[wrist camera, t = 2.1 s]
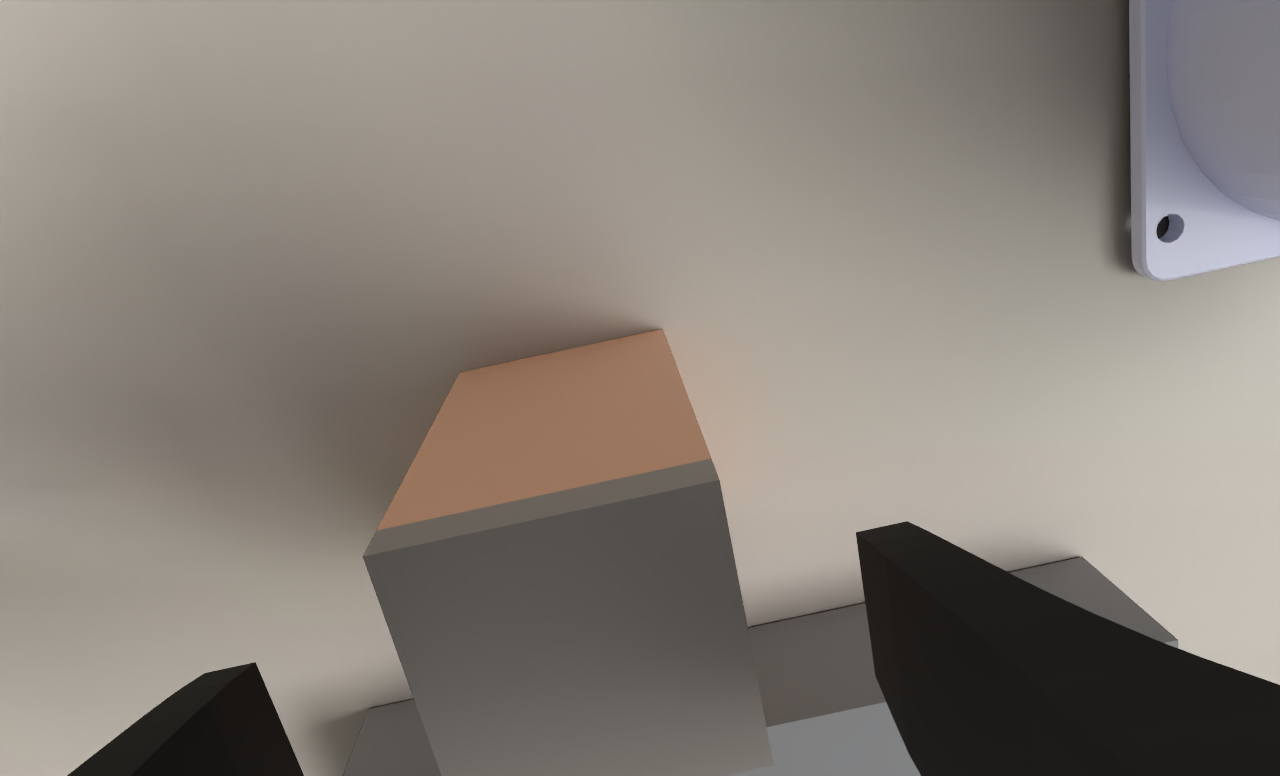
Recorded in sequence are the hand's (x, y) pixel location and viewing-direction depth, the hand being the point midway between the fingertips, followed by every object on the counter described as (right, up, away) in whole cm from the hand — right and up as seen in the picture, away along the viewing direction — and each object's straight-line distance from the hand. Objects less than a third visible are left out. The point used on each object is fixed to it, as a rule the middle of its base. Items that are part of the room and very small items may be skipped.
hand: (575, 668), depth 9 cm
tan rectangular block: (0, +2, +7) cm, 7 cm away
